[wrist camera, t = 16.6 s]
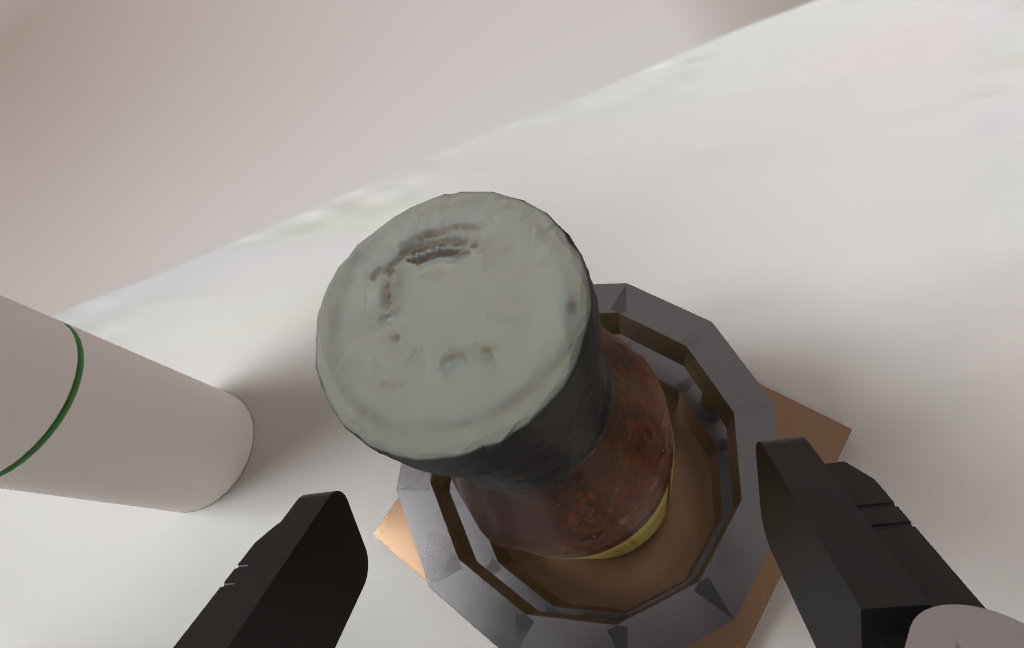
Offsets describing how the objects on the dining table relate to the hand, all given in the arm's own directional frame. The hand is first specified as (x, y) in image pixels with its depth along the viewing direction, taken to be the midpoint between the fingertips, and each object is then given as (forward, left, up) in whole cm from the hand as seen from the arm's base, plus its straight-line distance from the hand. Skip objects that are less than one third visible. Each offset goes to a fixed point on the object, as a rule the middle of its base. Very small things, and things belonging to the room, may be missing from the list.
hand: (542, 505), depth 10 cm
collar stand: (+2, +2, -16) cm, 16 cm away
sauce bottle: (+2, +1, -15) cm, 16 cm away
